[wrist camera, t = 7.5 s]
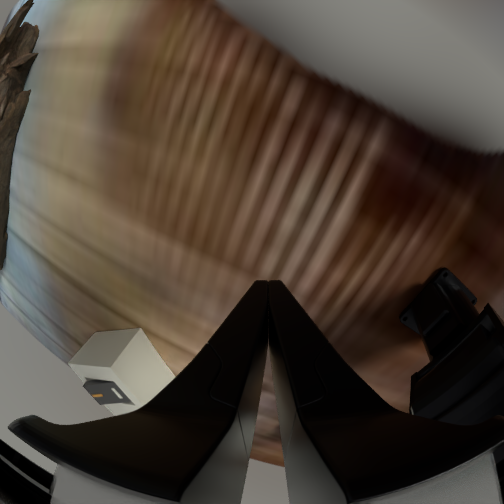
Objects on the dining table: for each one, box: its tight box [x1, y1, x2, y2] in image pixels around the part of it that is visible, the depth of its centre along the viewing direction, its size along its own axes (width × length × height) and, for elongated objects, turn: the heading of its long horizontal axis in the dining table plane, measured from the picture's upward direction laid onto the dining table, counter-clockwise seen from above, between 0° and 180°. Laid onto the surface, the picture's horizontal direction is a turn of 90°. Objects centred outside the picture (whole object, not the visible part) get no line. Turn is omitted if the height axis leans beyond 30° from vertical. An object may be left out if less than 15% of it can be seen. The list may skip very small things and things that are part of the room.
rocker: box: [83, 379, 132, 405], centre depth 26 cm, size 6×4×1 cm, turn 111°
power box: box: [68, 328, 175, 416], centre depth 32 cm, size 15×18×7 cm
